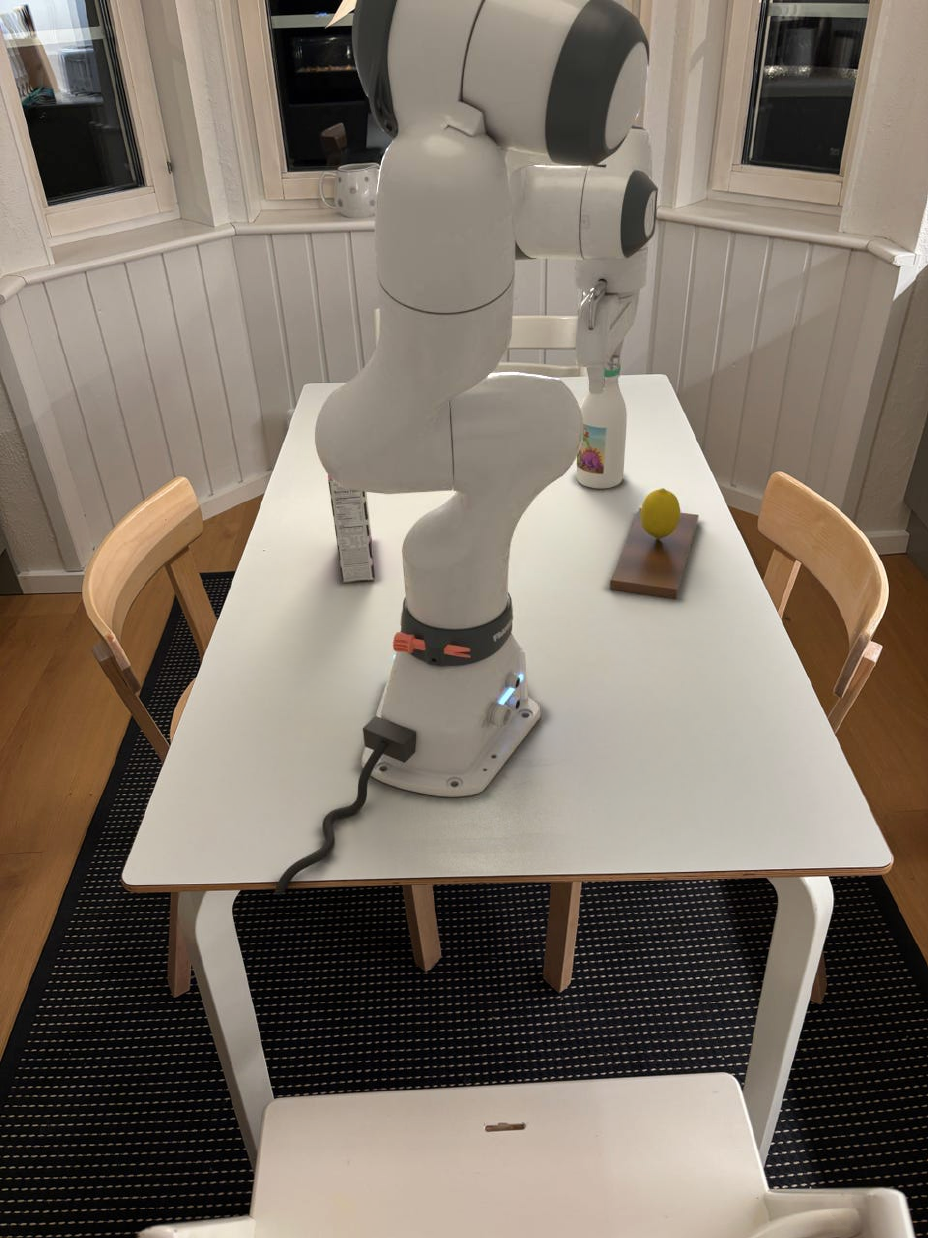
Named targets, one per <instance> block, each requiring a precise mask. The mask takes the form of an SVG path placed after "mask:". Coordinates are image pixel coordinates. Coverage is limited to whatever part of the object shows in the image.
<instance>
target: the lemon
mask: <svg viewBox="0 0 928 1238" xmlns="http://www.w3.org/2000/svg"><path fill="white" fill-rule="evenodd" d="M640 508H641V524H642V526H643V528H644V530H645V531H646V532H647V533H648V534H649V535H651V536H654V537H655V538H656V539H660V538H662V537H665V536H668V535H669V534H671V533H672V532H673V531H674V530H675V529H676V527H677V525H678V523H679V519H680V513H681V507H680V502H679V500H678V497H677V496H676V495H675V494H674V493H673V492H672V491H670V490H668V489H665V488H663V487H662V488H661V487H660V488H659V489H656V490H653V491H651V492H650V493H648V494H647V495H646V497H645V498H644V500H643V503H642V504H641V507H640Z"/></svg>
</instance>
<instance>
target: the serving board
mask: <svg viewBox="0 0 928 1238" xmlns="http://www.w3.org/2000/svg"><path fill="white" fill-rule="evenodd" d="M641 508H642V507H639V508H638V509H637V512H636V515H635V517H634V520H633V522H632V525H631V527H630V530H629V531H628V535H627V537H626V540H625V542H624V544H623V547H622V550H621V552H620V555H619V557H618V559H617V563H616V565H615V566H614V567H615V568H614V570H613V573H612V574H611V577H610V580H609V581H610V582H609V590H613V591H619V592H620V591H621V592H626V593H627V592H628V593H632V594H633V593H634V594H640V595H648V596H654V597H659V598H660V597H661V598H667V599H674V600H677V597H678V594H679V590H680V587H681V583H682V580H683V576H684V573H685V569H686V565H687V562H688V559H689V555H690V551H691V548H692V545H693V541H694V538H695V534H696V530H697V527H698V524H699V523H698V522H699V514H695V513H688V512H687V513H686V512H680V519H679V523H678V525H677V527H676V529H675V530H674V531H673V532H672V533H671V534H669V535H668V536H665V537H662V538H660V539H656V538H655V537H654V536H651V535H649V534H648V533H647V532H646V531H645V530H644V528H643V526H642V524H641Z"/></svg>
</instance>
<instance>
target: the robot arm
mask: <svg viewBox="0 0 928 1238" xmlns="http://www.w3.org/2000/svg"><path fill="white" fill-rule="evenodd" d="M353 9H354V11H353V15H352V22H351V23H352V24H351V25H352V26H351V43H352V44H351V45H352V46H351V47H352V52H353V57H354V63H355V67H356V70H357V73H358V77H359V80H360V84H361V87H362V89H363V92H364V93H365V95H366V96H367V98H368V102H369V107H370V111H371V113H372V116H373V119H374V121H375V123H376V124H377V126H378V127H379V128H380V129H381V130H382V131H383V132H384V133H385V135H387V136H389V137H391V138H392V139H393V140H392V141H391V142H390V144H389V145H388V146H387V148H386V149H385V152H384V154H383V156H382V159H381V163H380V167H379V173H378V179H377V180H378V182H377V189H376V199H375V211H374V255H375V267H376V268H375V269H376V279H377V280H376V281H377V290H378V305H379V306H378V309H379V312H378V313H379V330H378V331H379V332H378V340H377V345H376V347H375V350H374V351H373V354H372V356H371V357H370V359H369V360H368V362H367V363H366V364H365V365H364V367H363V368H362V369H361V370H360V371H359V372H358V373H357V374H355V376H354V377H352V378H351V379H350V380H349V381H347V382H346V383H344V384H343V385H341V386H339V387H337V388H335V389H334V390H333V391H332V392H331V393H330V394H329V395H328V396H327V398H326V399H325V401H324V402H323V403H322V406H321V408H320V410H319V413H318V415H317V418H316V421H315V429H314V444H315V450H316V454H317V456H318V459H319V462H320V464H321V466H322V468H323V469H324V471H325V472H326V474H327V476H328V475H329V476H330V477H331V479H332V480H333V481H334V482H335V483H336V484H338V485H339V486H340V487H341V488H345V489H351V490H358V491H364V492H367V493H371V494H372V493H373V494H380V495H381V494H382V495H399V494H400V495H401V494H402V495H403V494H415V493H416V494H417V493H433V492H451V491H453V492H455V493H454V494H452V496H451V497H450V498H448V500H447V501H445V502H444V503H442V504H441V505H439V506H437V507H435V508H433V509H432V510H429V511H428V512H427V513H425V514H423V515H422V516H421V517H419V518H418V520H417V521H415V522H414V524H413V525H412V526H411V527H410V529H409V530H408V531H407V533H406V535H405V537H404V539H403V543H402V547H401V556H402V564H403V565H402V567H403V568H402V569H403V580H404V581H403V582H404V594H405V597H404V599H403V602H402V610H401V613H400V630H399V631H397V632H396V633H395V635H394V636H393V640H392V648H393V651H394V652H395V654H394V655H393V663H392V667H391V670H390V675H389V679H387V681H386V683H385V685H384V688H383V691H382V695H381V698H380V700H379V703H378V707H377V710H376V713H375V716H374V717H372V719H371V720H370V721H368V722H367V724H366V725H364V726H363V727H362V734H363V741H364V742H363V743H364V750H363V753H362V756H361V768H362V770H361V773H360V775H359V778H358V783H357V796H356V799H355V800H354V802H353V803H352V804H350V805H347V806H343V807H339V808H335V809H333V810H331V811H329V812H328V813H327V814H326V815H325V816H324V818H323V820H322V825H321V826H322V832H323V834H324V838H325V840H324V843H323V844H322V846H321V847H320V848H319V849H317V850H316V851H314V852H313V853H311V854H308V855H306V856H304V857H303V858H301V859H299V860H297V861H295V862H294V863H292V864H291V865H290V866H289V867H288V868H287V869H286V870H284V872H283V874H282V875H281V877H280V878H279V879H278V882H277V884H276V887H275V889H274V894H275V895H276V896H279V895H280V896H281V895H283V894H284V893H285V892H286V890H287V888H288V886H289V885H290V882H291V880H293V878H294V877H295V876H297V874H299V873H300V872H302V871H304V870H305V869H307V868H308V867H311V866H312V865H315V864H316V863H318V862H320V861H322V860H323V859H325V857H327V856H328V855H329V854H330V853H331V852H332V850H333V849H334V847H335V843H336V836H335V832H334V829H333V823H334V821H335V820H338V819H341V818H347V817H349V816H353V815H355V814H356V813H358V812H359V811H360V810H361V809H362V808H363V807H364V805H365V804H366V801H367V797H368V785H369V784H368V783H369V780H370V778H371V777H373V779H376V780H378V781H379V782H381V783H384V784H386V785H388V786H392V787H393V788H394V787H395V788H398V789H401V790H405V791H408V792H412V793H418V794H424V795H428V796H436V797H449V798H451V797H452V798H453V797H454V798H455V797H456V798H457V797H467V796H473V795H478V794H480V793H482V792H483V791H484V790H485V789H486V788H487V787H488V786H489V784H490V783H491V782H492V781H493V780H494V778H495V777H496V776H497V774H498V773H499V771H500V770H501V769H502V767H503V766H504V765H505V764H506V762H507V761H508V760H509V758H510V757H511V756H512V754H513V753H514V752H515V751H516V749H517V748H518V747H519V746H520V744H521V743H522V742H523V740H524V739H525V738H526V736H527V735H528V734H529V733H530V731H531V730H532V728H533V727H534V726H535V725H536V723H537V722H538V721H539V719H540V718H541V716H542V714H541V707H540V705H539V704H538V703H537V702H536V700H534V699H532V698H531V697H530V696H529V692H528V690H529V689H528V675H527V662H526V661H527V660H526V653H525V651H524V649H523V647H522V646H520V644H519V643H518V641H517V639H516V638H515V636H514V635H513V633H512V631H513V621H514V607H513V601H512V597H511V594H510V592H509V568H510V567H509V565H510V555H511V546H512V540H513V537H514V534H515V531H516V528H517V526H518V524H519V522H520V521H521V518H522V517H523V516H524V514H525V512H526V511H527V509H528V508H529V507H530V505H531V504H532V502H533V501H534V500H535V499H536V498H537V497H538V496H539V495H540V494H541V493H542V492H543V491H544V490H545V489H547V487H549V486H550V485H551V484H552V483H554V482H556V481H557V480H558V479H560V478H561V477H563V476H564V475H565V474H566V473H567V472H568V471H569V470H570V468H571V467H572V465H573V464H574V463H575V461H576V460H577V455H578V453H579V450H580V447H581V443H582V438H583V418H582V414H581V410H580V408H581V406H580V405H579V401H578V400H577V398H576V396H575V395H574V393H573V392H572V390H571V389H570V388H569V386H568V385H567V384H566V383H564V382H563V381H562V380H561V379H560V378H557V377H552V376H547V375H546V376H545V375H540V374H533V373H526V372H517V371H504V372H494V371H495V370H496V369H497V367H498V366H499V364H500V363H501V362H502V361H503V358H504V357H505V355H506V353H507V351H508V349H509V346H510V344H511V341H512V335H513V315H514V314H513V313H514V298H515V297H514V295H515V277H516V276H515V275H516V261H525V260H526V261H527V260H528V261H529V260H537V259H544V260H545V259H547V260H550V259H551V260H574V265H573V286H574V287H575V288H576V289H578V290H581V291H583V296H582V297H583V300H582V302H581V303H580V306H579V309H578V316H577V327H576V337H575V338H576V340H575V353H574V354H575V355H574V356H575V357H574V358H575V363H576V365H577V366H578V367H582V368H586V373H587V378H588V389H589V392H590V393H591V394H601V393H602V392H603V390H604V389H605V377H604V368H605V369H606V370H613V371H615V370H617V369H618V367H619V366H620V367H621V355H622V352H623V351H622V350H623V346H624V342H625V337H626V336H627V334H628V333H629V331H630V330H631V329H632V327H633V326H634V323H635V320H636V316H637V311H638V305H639V299H640V293H641V289H643V288H644V287H645V286H646V283H647V282H646V281H647V269H648V253H649V241H650V240H651V239H652V238H653V237H654V234H655V231H656V223H657V222H656V219H657V204H658V194H659V193H658V192H659V188H658V187H657V185H656V184H655V183H654V181H653V160H652V159H653V157H652V145H651V144H652V143H651V134H650V132H649V130H647V129H645V128H644V127H643V126H640V125H636V124H635V123H636V120H637V118H638V116H639V115H640V111H641V108H642V106H643V103H644V99H645V96H646V92H647V86H648V76H649V75H648V74H649V66H650V52H651V51H650V43H649V40H648V38H647V34H646V33H645V31H644V28H643V26H642V24H641V22H640V20H639V18H638V17H637V16H636V15H635V14H634V13H632V12H631V11H630V10H629V8H628V5H627V1H626V0H355V5H354V8H353ZM385 123H386V124H385ZM551 164H556V165H551ZM557 164H558V165H557ZM562 165H563V166H562Z"/></svg>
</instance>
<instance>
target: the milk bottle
mask: <svg viewBox="0 0 928 1238" xmlns="http://www.w3.org/2000/svg"><path fill="white" fill-rule="evenodd" d="M620 373H621V365H620V366H619V367H618V369H617V370H615V371H613V370H606V369H605V368H604V377H605V389H604V390H603V392H602V393H601V394H591V393H590V392H589V388H588V389H587V392H586V393H585V395H584V397H583V400H582V402H581V405H580V410H581V414H582V418H583V438H582V443H581V447H580V450H579V453H578V455H577V457H576V470H575V471H576V473H575V474H576V476H575V477H576V479H577V481H578V483H579V484H581V485H583V486H585V487H587V488H591V489H610V488H613V487H614V488H615V487H616V486H619V484H621V482H622V481H623V478H624V472H625V471H624V470H625V457H626V455H625V454H626V442H627V441H626V440H627V423H628V422H627V420H628V418H627V417H628V415H627V414H628V413H627V407H626V402H625V400H624V397H623V394H622V392H621V389H620V384H619V378H620V376H621V374H620Z"/></svg>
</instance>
